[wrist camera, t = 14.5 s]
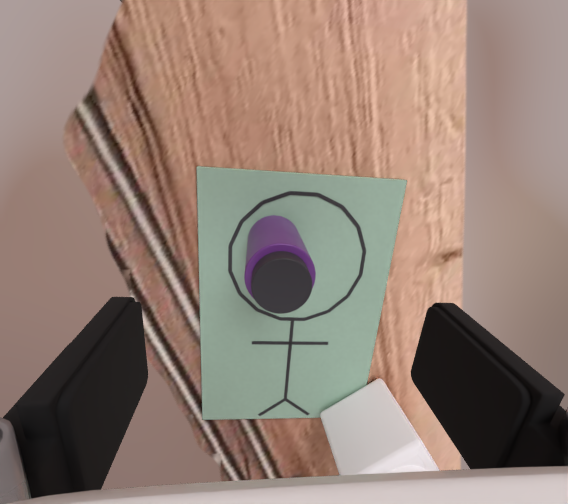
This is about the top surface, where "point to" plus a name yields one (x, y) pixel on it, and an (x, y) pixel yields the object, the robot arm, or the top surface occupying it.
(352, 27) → the top surface
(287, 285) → the cylinder
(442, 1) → the top surface
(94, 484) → the robot arm
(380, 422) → the medicine bottle
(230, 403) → the sketch card
